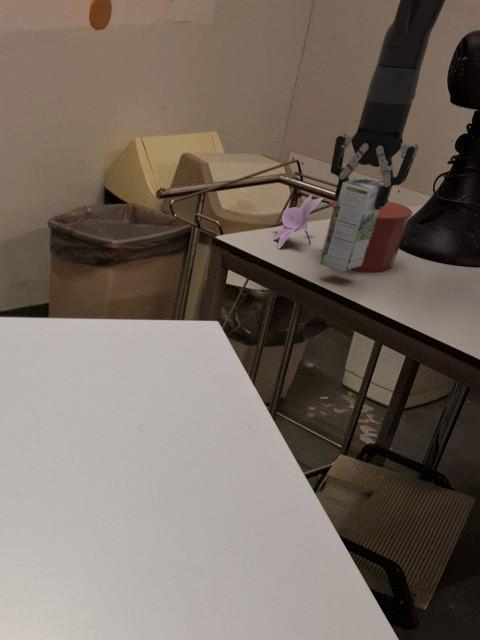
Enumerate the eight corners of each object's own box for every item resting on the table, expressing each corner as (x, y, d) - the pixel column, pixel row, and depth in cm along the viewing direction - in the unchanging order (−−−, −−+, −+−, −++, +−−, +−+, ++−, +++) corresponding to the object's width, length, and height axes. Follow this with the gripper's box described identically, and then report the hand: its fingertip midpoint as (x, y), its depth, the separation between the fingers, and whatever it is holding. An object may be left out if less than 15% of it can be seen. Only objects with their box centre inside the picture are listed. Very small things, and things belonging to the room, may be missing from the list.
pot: (404, 256, 173) (420, 207, 167) (376, 280, 161) (393, 227, 155) (338, 243, 179) (352, 195, 173) (306, 265, 167) (320, 213, 161)
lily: (281, 237, 185) (270, 197, 178) (336, 223, 178) (328, 181, 171) (270, 270, 179) (259, 229, 173) (327, 257, 172) (318, 214, 166)
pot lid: (419, 212, 166) (429, 181, 162) (397, 228, 156) (408, 196, 153) (345, 199, 172) (353, 169, 168) (320, 214, 163) (328, 182, 159)
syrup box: (336, 259, 162) (359, 176, 152) (363, 267, 159) (388, 182, 149) (319, 264, 159) (341, 180, 150) (346, 272, 156) (370, 187, 146)
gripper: (340, 95, 142) (313, 202, 153) (427, 105, 135) (392, 216, 146) (354, 90, 146) (327, 194, 157) (439, 100, 140) (404, 208, 151)
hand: (359, 204), depth 152 cm, fingers closed on syrup box, 6 cm apart
